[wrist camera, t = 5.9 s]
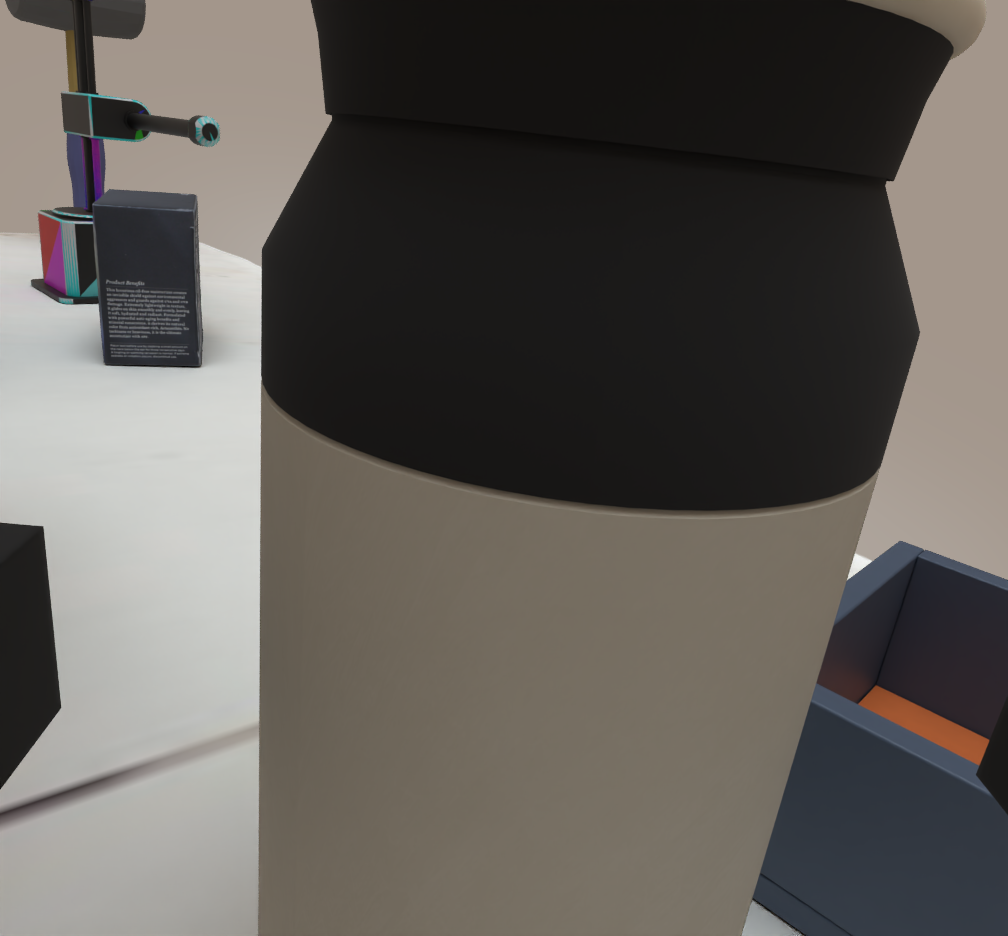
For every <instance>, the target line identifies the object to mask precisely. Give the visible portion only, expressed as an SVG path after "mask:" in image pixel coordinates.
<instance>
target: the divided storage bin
mask: <svg viewBox="0 0 1008 936" xmlns="http://www.w3.org/2000/svg"><path fill="white" fill-rule="evenodd" d="M1007 696H1008V580H1006V579H1004V578H1001V577H998V576H995V575H993V574H990V573H987V572H984V571H982V570H979V569H977V568H974V567H971V566H968V565H966V564H963V563H960V562H957V561H955V560H952V559H950V558H947V557H944V556H941V555H939V554H936V553H933V552H931V551H928V550H925V551H924V550H923V549H922V548H919V547H916V546H914V545H911V544H908V543H906V542H903V541H899V542H898V543H896V544H895V545H894V546H892V547H891V548H890V549H888V550H887V551H886V552H885V553H883V554H882V555H880V556H879V557H878V558H876V559H875V560H874V561H872V562H871V563H870V564H868V565H867V566H866V567H865V568H863V569H862V570H861V571H859V572H858V573H857V574H855V575H854V576H853V577H851V578H850V579H849V580H847V581H846V584H845V588H844V591H843V594H842V598H841V601H840V605H839V608H838V611H837V615H836V618H835V621H834V625H833V628H832V631H831V635H830V638H829V642H828V645H827V648H826V652H825V655H824V658H823V662H822V665H821V669H820V672H819V675H818V679H817V682H816V685H815V689H814V692H813V695H812V699H811V702H810V706H809V709H808V712H807V716H806V719H805V722H804V726H803V729H802V732H801V736H800V739H799V743H798V746H797V749H796V753H795V756H794V759H793V763H792V766H791V770H790V773H789V776H788V780H787V783H786V786H785V790H784V793H783V796H782V800H781V803H780V807H779V810H778V813H777V817H776V820H775V823H774V827H773V830H772V834H771V837H770V840H769V844H768V847H767V850H766V854H765V857H764V860H763V864H762V867H761V871H760V874H759V877H758V881H757V884H756V887H755V891H754V894H753V897H752V898H754V899H755V900H757V901H758V902H759V903H761V904H762V905H764V906H765V907H767V908H768V909H769V910H771V911H772V912H774V913H775V914H776V915H778V916H779V917H781V918H782V919H784V920H785V921H786V922H788V923H789V924H791V925H792V926H793V927H795V928H796V929H798V930H799V931H800V932H802V933H803V934H805V935H806V936H1008V815H1007V814H1006V812H1005V811H1004V810H1003V809H1002V807H1001V806H1000V805H999V804H998V802H997V801H996V800H995V798H994V797H993V796H992V795H991V793H990V792H989V791H988V790H987V788H986V787H985V786H984V785H983V783H982V782H981V781H980V780H979V778H978V777H977V776H976V773H977V770H978V768H979V765H980V763H981V760H982V758H983V755H984V753H985V750H986V748H987V745H988V743H989V740H990V738H991V735H992V733H993V730H994V728H995V725H996V723H997V720H998V718H999V715H1000V713H1001V711H1002V708H1003V706H1004V703H1005V701H1006V698H1007Z"/></svg>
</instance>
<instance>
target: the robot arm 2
mask: <svg viewBox="0 0 1008 936" xmlns="http://www.w3.org/2000/svg"><path fill="white" fill-rule="evenodd" d="M69 1H71V2H72V13H73V27H74V42H75V57H76V71H77V86H78V91H76V93H75V92H65V91H62V92H61V98H62V112H63V125H64V132H65V133H70V134H75V135H79V137H81V145H82V159H83V174H84V189H85V203H86V207H62V208H55V209H54V210H52V211H51V210H50V211H49V210H40V211H39V212H38V221H39V232H40V244H41V255H42V266H43V278H44V279H33V280H31V285H32V286H33V287H35V288H37V289H38V290H40V291H42V292H43V293H45V294H47V295H48V296H50V297H52V298H53V299H55V300H57V301H58V302H60V303H65V304H82V303H99V300H98V287H97V274H96V262H95V249H94V232H93V210H92V204H93V203H94V202H95V201H97V200H98V199H99V198H100V197H101V196H102V181H101V164H100V148H99V140H101V139H110V140H120V141H131V142H139V141H142V140H144V139H146V138H147V137H148V136H149V135H150V133H151V132H157V133H163V134H169V135H176V136H181V137H188V138H190V140H191V141H192V142H193V143H195V144H197V145H200V146H206V147H210V146H214V145H215V144H217V142H218V141H219V138H220V129H219V125H218V123H217V122H216V121H215V120H214V119H212V118H211V117H207V116H194V117H192V118H191V119H190V120H184V119H176V118H169V117H161V116H153V115H151V114H150V112H149V110H148V109H147V107H146V106H144V105H143V104H142V103H141V102H139V101H136V100H133V99H125V98H117V97H110V96H101V95H98V93H96V84H95V83H96V82H95V67H94V50H93V33H92V17H91V2H93V1H96V0H69Z"/></svg>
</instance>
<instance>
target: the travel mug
mask: <svg viewBox="0 0 1008 936" xmlns="http://www.w3.org/2000/svg"><path fill="white" fill-rule="evenodd" d="M311 3H312V8H313V13H314V17H315V22H316V27H317V31H318V38H319V48H320V58H321V70H322V80H323V90H324V100H325V111H326V114H329V115H332V121H331V123H330V125H329V127H328V128H327V130H326V132H325V134H324V136H323V138H322V140H321V141H320V143H319V145H318V147H317V149H316V151H315V152H314V154H313V156H312V158H311V160H310V161H309V164H308V165H307V167H306V169H305V171H304V172H303V174H302V176H301V178H300V180H299V182H298V183H297V186H296V187H295V189H294V191H293V193H292V194H291V196H290V198H289V200H288V202H287V204H286V206H285V207H284V209H283V211H282V213H281V215H280V217H279V218H278V220H277V222H276V224H275V226H274V228H273V229H272V231H271V233H270V235H269V237H268V239H267V240H266V243H265V244H264V246H263V248H262V337H261V376H262V381H261V526H260V716H259V906H258V936H741V935H742V931H743V928H744V924H745V921H746V918H747V914H748V911H749V908H750V904H751V901H752V897H753V894H754V891H755V887H756V884H757V881H758V877H759V874H760V871H761V867H762V864H763V860H764V857H765V854H766V850H767V847H768V844H769V840H770V837H771V834H772V830H773V827H774V823H775V820H776V817H777V813H778V810H779V807H780V803H781V800H782V796H783V793H784V790H785V786H786V783H787V780H788V776H789V773H790V770H791V766H792V763H793V759H794V756H795V753H796V749H797V746H798V743H799V739H800V736H801V732H802V729H803V726H804V722H805V719H806V716H807V712H808V709H809V706H810V702H811V699H812V695H813V692H814V689H815V685H816V682H817V679H818V675H819V672H820V669H821V665H822V662H823V658H824V655H825V652H826V648H827V645H828V642H829V638H830V635H831V631H832V628H833V625H834V621H835V618H836V615H837V611H838V608H839V605H840V601H841V598H842V594H843V591H844V588H845V584H846V581H847V578H848V574H849V571H850V567H851V564H852V561H853V557H854V554H855V551H856V547H857V544H858V541H859V537H860V534H861V530H862V527H863V524H864V520H865V517H866V513H867V510H868V507H869V503H870V500H871V497H872V493H873V490H874V487H875V483H876V480H877V477H878V473H879V469H880V466H881V463H882V460H883V456H884V453H885V450H886V446H887V443H888V439H889V436H890V433H891V429H892V426H893V422H894V419H895V416H896V413H897V409H898V406H899V402H900V399H901V396H902V392H903V389H904V386H905V382H906V379H907V375H908V372H909V368H910V365H911V362H912V359H913V355H914V352H915V349H916V345H917V341H918V338H919V334H920V331H919V327H918V322H917V318H916V314H915V310H914V306H913V301H912V297H911V293H910V289H909V285H908V280H907V276H906V272H905V268H904V263H903V259H902V255H901V251H900V247H899V242H898V238H897V234H896V230H895V226H894V221H893V217H892V213H891V209H890V204H889V200H888V196H887V192H886V187H885V184H886V181H894V179H895V177H896V174H897V172H898V169H899V167H900V165H901V162H902V160H903V157H904V155H905V152H906V150H907V148H908V145H909V143H910V140H911V138H912V135H913V133H914V130H915V128H916V126H917V123H918V121H919V119H920V116H921V114H922V111H923V108H924V106H925V104H926V102H927V99H928V98H929V96H930V94H931V92H932V91H933V89H934V87H935V85H936V83H937V82H938V80H939V78H940V76H941V74H942V73H943V71H944V69H945V67H946V65H947V64H948V62H949V60H951V59H953V58H955V57H957V56H959V55H960V54H961V53H963V52H964V51H965V50H966V49H968V48H969V47H970V46H971V45H972V44H973V43H974V42H975V40H976V39H977V37H978V36H979V34H980V32H981V30H982V28H983V26H984V23H985V19H986V4H985V0H311Z"/></svg>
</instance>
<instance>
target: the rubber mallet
mask: <svg viewBox="0 0 1008 936" xmlns="http://www.w3.org/2000/svg"><path fill="white" fill-rule="evenodd" d="M5 1H6V4H7V7H8V9H9V11H10V12H11V14H12V15H13V16H14V17H15V18H17V19H19V20H22V21H26V22H30V23H34V24H38V25H42V26H46V27H50V28H55V29H59V30H64V31H65V32H66V49H67V65H68V81H69V92H75V93H76V91H78V86H77V71H76V57H75V42H74V27H73V13H72V2H71V1H69V0H5ZM145 8H146V5H145V0H96V1H93V2H91V17H92V33H93V36H102V37H112V38H122V39H134V38H136V37H137V36H138V35H139V34H140V33H141V31H142V29H143V25H144V21H145ZM99 148H100V164H101V181H102V196H103V195H104V180H105V152H104V143H103V139H101V140H99ZM67 159H68V166H69V171H70V176H71V181H72V188H73V203H74V207H86V203H85V189H84V174H83V159H82V145H81V137H79V135H75V134H70V133H67Z"/></svg>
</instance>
